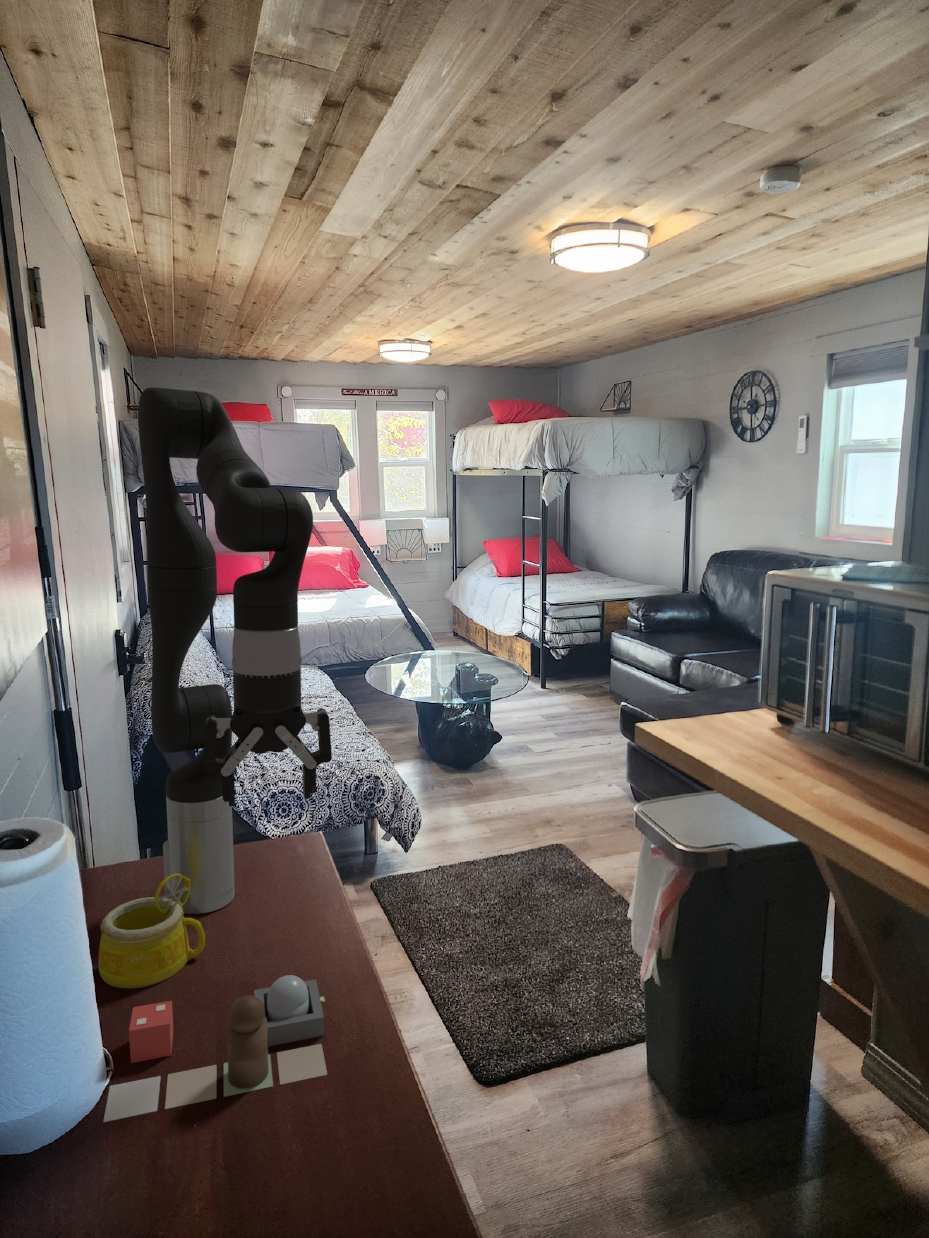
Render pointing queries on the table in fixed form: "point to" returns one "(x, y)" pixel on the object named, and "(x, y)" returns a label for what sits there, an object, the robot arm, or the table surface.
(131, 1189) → the table surface
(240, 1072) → the brown round-topped cylinder
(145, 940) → the mug
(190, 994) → the table surface
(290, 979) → the capsule
